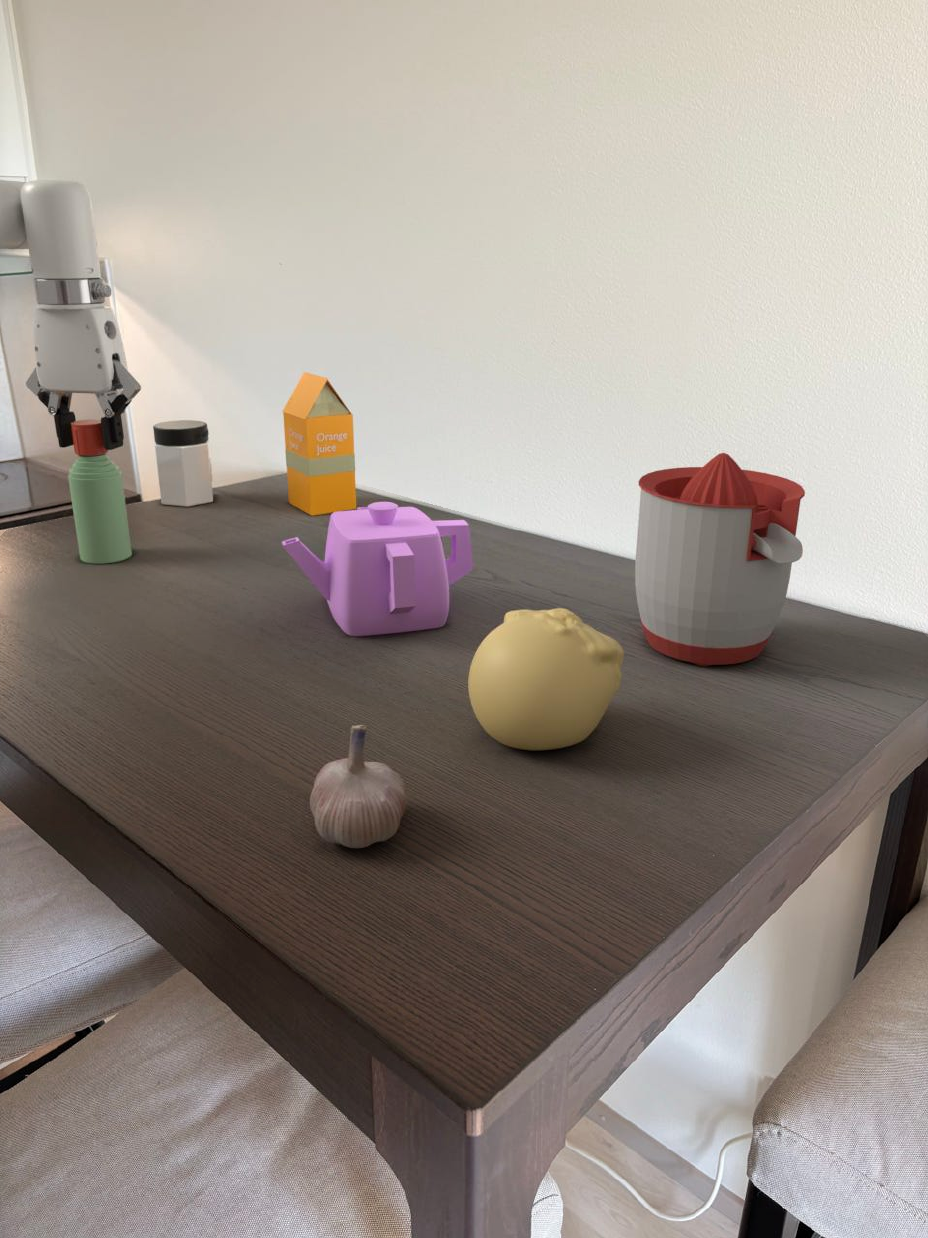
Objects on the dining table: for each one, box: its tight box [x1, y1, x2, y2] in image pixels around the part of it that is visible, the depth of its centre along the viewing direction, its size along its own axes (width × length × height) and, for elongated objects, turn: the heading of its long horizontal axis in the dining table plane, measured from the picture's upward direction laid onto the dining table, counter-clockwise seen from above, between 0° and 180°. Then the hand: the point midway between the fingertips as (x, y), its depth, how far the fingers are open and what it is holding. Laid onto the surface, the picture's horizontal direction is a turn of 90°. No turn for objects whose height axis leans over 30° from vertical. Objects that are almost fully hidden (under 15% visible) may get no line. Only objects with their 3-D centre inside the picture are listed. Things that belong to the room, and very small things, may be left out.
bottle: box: [67, 453, 133, 565], centre depth 122 cm, size 6×6×17 cm
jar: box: [152, 419, 214, 508], centre depth 150 cm, size 9×8×12 cm
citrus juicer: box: [634, 452, 806, 667], centre depth 94 cm, size 16×17×20 cm
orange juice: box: [282, 371, 357, 516], centre depth 146 cm, size 8×9×20 cm
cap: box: [71, 418, 109, 456], centre depth 119 cm, size 4×4×4 cm
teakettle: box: [281, 501, 474, 637], centre depth 105 cm, size 17×17×12 cm
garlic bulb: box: [309, 724, 407, 849], centre depth 66 cm, size 8×7×8 cm
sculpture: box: [467, 607, 625, 751], centre depth 79 cm, size 12×12×11 cm
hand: (91, 445), depth 120 cm, fingers open, 5 cm apart
